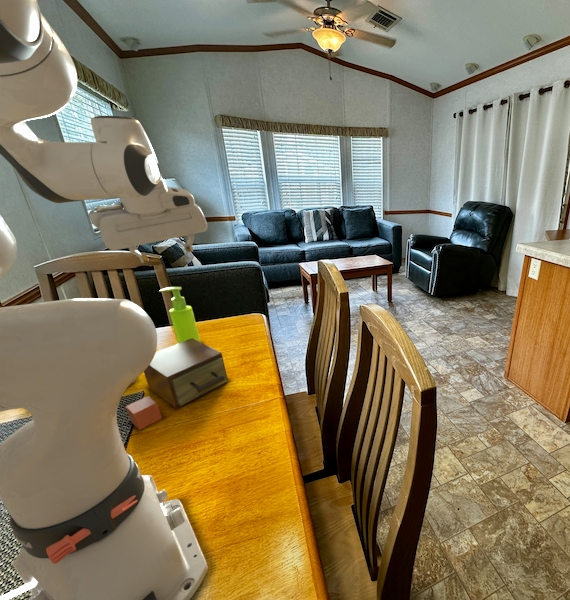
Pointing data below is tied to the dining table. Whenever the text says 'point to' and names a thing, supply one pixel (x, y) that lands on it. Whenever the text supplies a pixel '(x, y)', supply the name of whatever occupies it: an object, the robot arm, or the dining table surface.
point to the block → (143, 412)
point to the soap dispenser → (182, 317)
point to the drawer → (199, 380)
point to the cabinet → (177, 366)
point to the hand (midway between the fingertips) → (168, 256)
